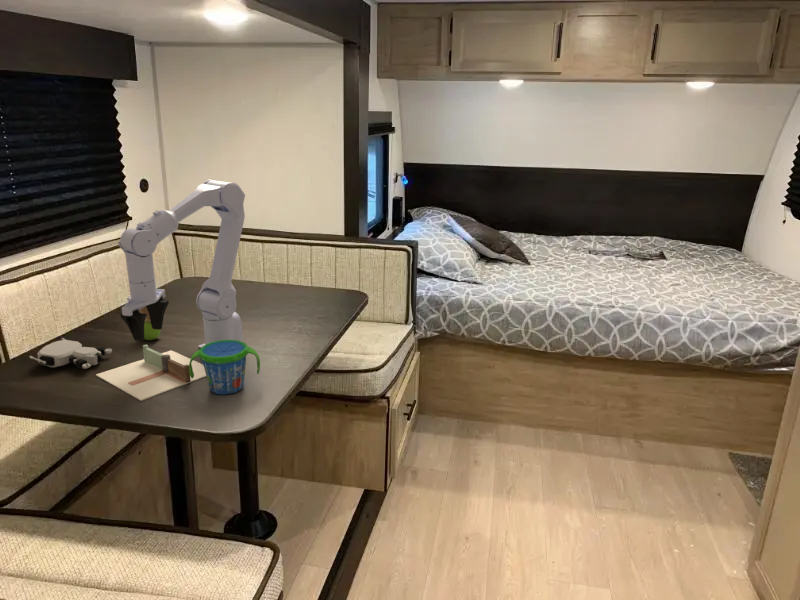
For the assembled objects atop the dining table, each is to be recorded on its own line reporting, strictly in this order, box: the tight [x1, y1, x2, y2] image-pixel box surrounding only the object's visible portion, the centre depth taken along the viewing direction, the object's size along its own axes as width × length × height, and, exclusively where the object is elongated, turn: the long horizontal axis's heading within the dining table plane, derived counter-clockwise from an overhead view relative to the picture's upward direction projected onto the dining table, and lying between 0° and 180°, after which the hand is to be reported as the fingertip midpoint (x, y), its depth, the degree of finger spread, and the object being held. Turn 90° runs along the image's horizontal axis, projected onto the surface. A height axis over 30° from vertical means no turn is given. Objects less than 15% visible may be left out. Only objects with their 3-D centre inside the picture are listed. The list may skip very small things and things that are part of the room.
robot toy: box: [29, 337, 113, 370], centre depth 152 cm, size 12×4×15 cm
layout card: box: [95, 350, 207, 402], centre depth 148 cm, size 20×20×1 cm
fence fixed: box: [161, 355, 192, 384], centre depth 146 cm, size 2×10×4 cm, turn 52°
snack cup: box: [189, 340, 261, 396], centre depth 140 cm, size 16×10×10 cm
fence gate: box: [142, 344, 163, 369], centre depth 151 cm, size 1×8×4 cm, turn 52°
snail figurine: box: [138, 306, 162, 341], centre depth 167 cm, size 5×6×12 cm
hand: (148, 334), depth 147 cm, fingers open, 7 cm apart
